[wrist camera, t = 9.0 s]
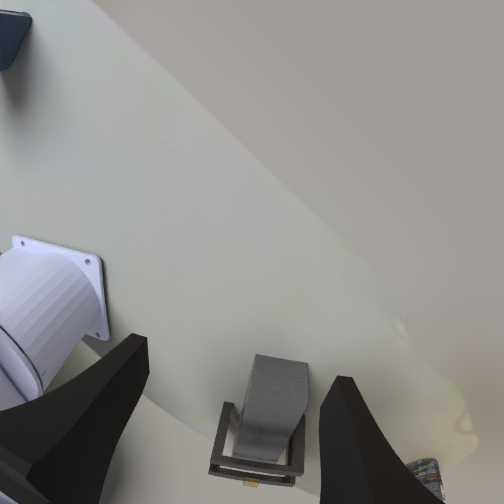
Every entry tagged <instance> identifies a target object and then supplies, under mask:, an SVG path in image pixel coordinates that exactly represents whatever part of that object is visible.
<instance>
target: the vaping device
mask: <svg viewBox="0 0 504 504" xmlns="http://www.w3.org/2000/svg"><path fill="white" fill-rule="evenodd" d="M31 19H32V18H31V17H30V15H29V14H28V13H26V12H21V13H20V12H15V11H8V10H0V70H2V69H4V68H7V67H8V66H10V64H11V63H12V61H13V59H14V57H15V54H16V52H17V50H18V48H19V45H20V43H21V41H22V39H23V37H24V35H25V33H26V31H27V29H28V27H29V25H30V23H31Z"/></svg>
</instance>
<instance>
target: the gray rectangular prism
mask: <svg viewBox="0 0 504 504" xmlns="http://www.w3.org/2000/svg"><path fill="white" fill-rule="evenodd" d="M307 405H308V363H304V362H298V361H292V360H286V359H280V358H274V357H269V356H263V355H258V354H256V355H255V359H254V363H253V367H252V371H251V375H250V379H249V383H248V387H247V391H246V395H245V399H244V402H243V406H242V410H241V414H240V418H239V419H238V424H237V429H236V435H235V440H234V445H233V451H232V456H231V457H233V458H239V459H245V460H251V461H257V462H264V463H271V464H276V462H278V460H279V457H280V455H281V454H282V452H283V450H284V448H285V447H286V445H287V443H288V441H289V439H290V437H291V436H292V434H293V432H294V430H295V428H296V426H297V424H298V422H299V420H300V419H301V417H302V415H303V413H304V411H305V409H306V407H307Z"/></svg>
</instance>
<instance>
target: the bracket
mask: <svg viewBox="0 0 504 504" xmlns="http://www.w3.org/2000/svg"><path fill="white" fill-rule="evenodd" d="M232 405H233V403H228V402H224V404H223V408H222V413H221V417H220V421H219V425H218V430H217V434H216V438H215V442H214V447H213V451H212V455H211V460H210V463H212V464H216V465H221V466H227V467H232V468H238V469H243V470H249V471H256V472H263V473H270V474H279V475H288V476H299V477H301V476H302V475H303V474H304V449H305V415H302V417H301V419H300V420H299V422H298V424H297V426H296V428H295V430H294V436H293V457H292V466H288V465H279V464H271V463H264V462H257V461H251V460H245V459H239V458H233V457H228V456H223V455H222V452H223V448H224V444H225V439H226V434H227V429H228V425H229V420H230V415H231V410H232Z"/></svg>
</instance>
